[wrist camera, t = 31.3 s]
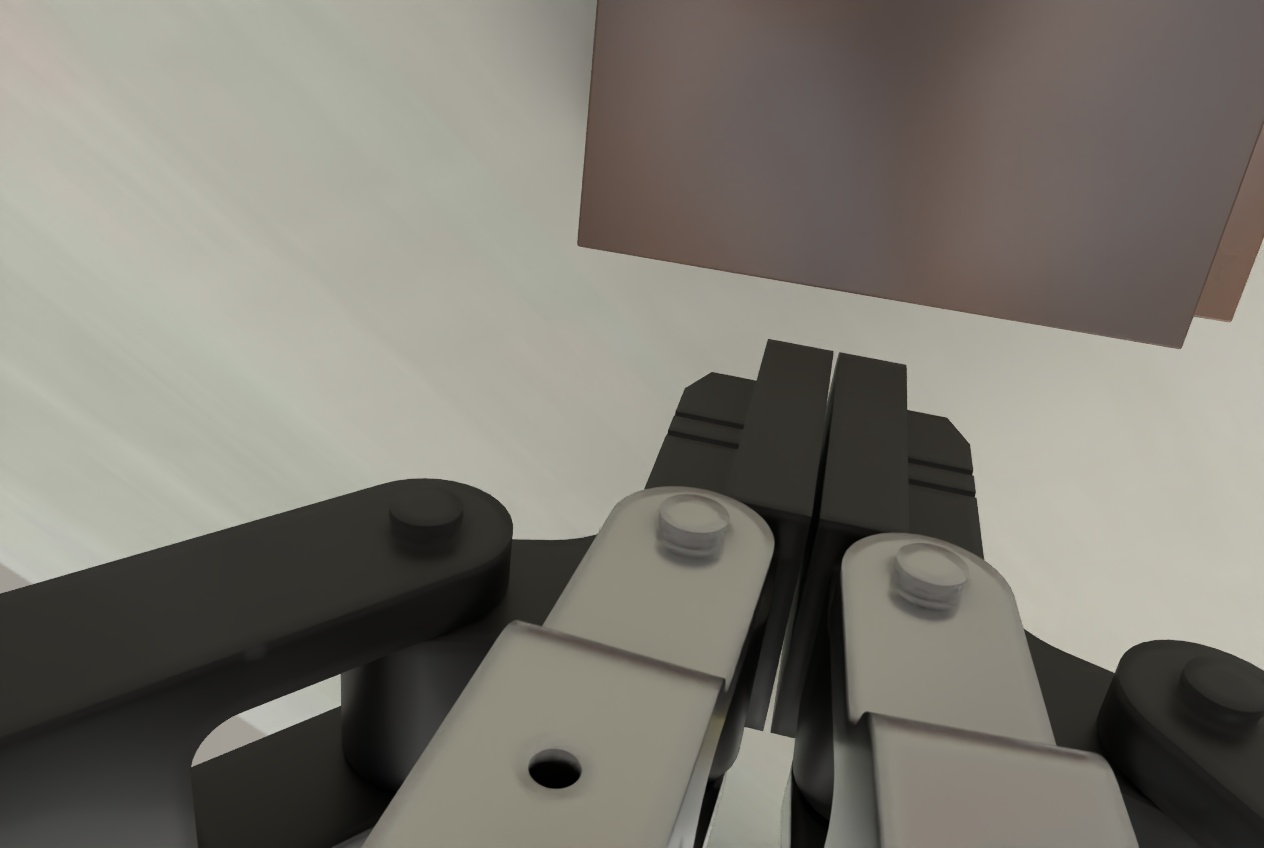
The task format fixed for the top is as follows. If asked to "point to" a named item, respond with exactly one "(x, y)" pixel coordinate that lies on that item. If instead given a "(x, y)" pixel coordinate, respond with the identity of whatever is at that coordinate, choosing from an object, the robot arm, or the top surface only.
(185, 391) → the top surface
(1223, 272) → the drawer
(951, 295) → the cabinet
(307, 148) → the top surface
